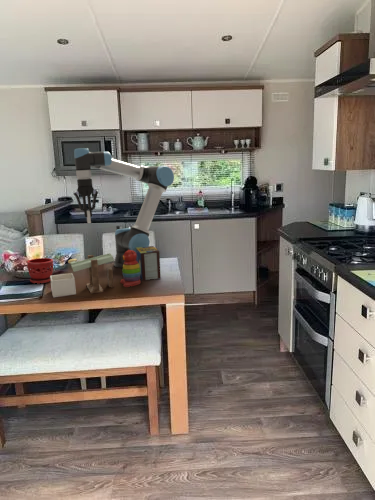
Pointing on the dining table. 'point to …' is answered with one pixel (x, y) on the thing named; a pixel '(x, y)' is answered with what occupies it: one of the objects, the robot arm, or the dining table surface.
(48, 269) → the plant pot
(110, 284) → the stand
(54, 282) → the grey box
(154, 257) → the protein box
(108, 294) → the dining table surface
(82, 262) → the lever
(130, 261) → the stacking bear
